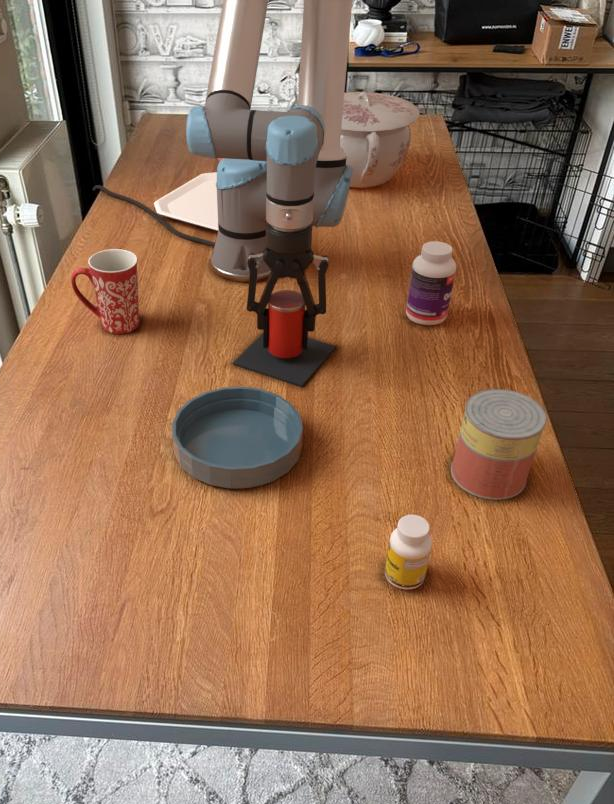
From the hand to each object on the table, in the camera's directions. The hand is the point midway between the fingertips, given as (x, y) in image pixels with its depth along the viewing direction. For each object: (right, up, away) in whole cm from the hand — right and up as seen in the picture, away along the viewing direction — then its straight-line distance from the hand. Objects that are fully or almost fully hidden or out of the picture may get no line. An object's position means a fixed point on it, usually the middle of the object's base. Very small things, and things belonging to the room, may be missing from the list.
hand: (285, 344), depth 141 cm
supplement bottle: (+14, -38, -36) cm, 54 cm away
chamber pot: (+21, +54, +61) cm, 84 cm away
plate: (-12, +41, +48) cm, 65 cm away
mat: (0, -2, +2) cm, 3 cm away
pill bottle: (+28, +7, +12) cm, 31 cm away
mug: (-33, +6, +10) cm, 35 cm away
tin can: (0, -1, +1) cm, 1 cm away
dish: (-8, -19, -17) cm, 27 cm away
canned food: (+30, -24, -22) cm, 44 cm away
